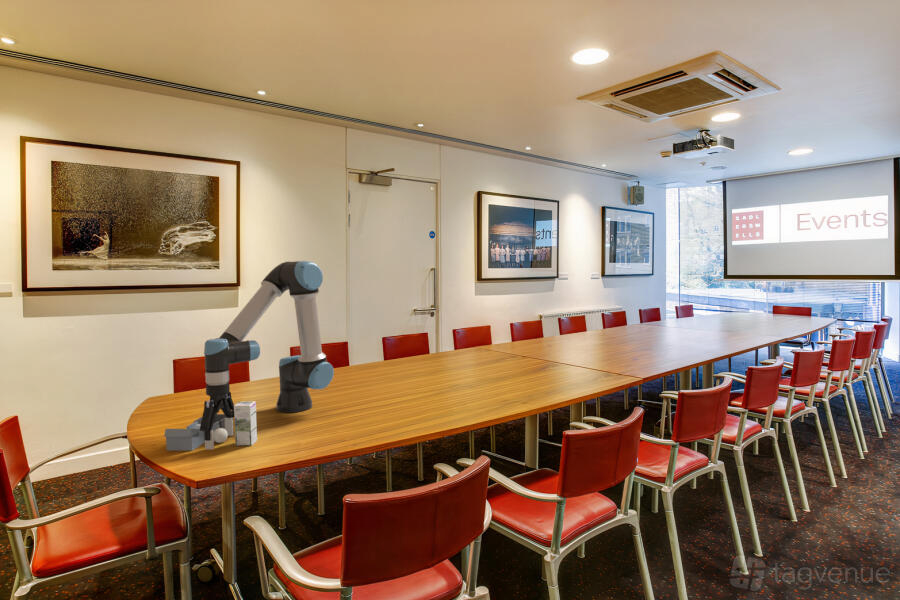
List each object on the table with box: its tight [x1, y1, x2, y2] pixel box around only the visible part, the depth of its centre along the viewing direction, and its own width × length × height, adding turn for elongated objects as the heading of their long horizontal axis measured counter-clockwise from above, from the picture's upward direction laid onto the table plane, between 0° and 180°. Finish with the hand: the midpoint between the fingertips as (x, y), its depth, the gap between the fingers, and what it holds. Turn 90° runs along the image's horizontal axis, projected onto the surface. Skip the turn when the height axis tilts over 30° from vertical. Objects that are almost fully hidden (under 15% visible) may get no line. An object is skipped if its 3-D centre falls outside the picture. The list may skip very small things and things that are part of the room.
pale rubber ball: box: [213, 428, 229, 444], centre depth 172 cm, size 5×5×5 cm
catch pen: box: [193, 413, 227, 429], centre depth 187 cm, size 9×11×4 cm
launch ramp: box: [163, 421, 220, 452], centre depth 173 cm, size 19×9×8 cm, turn 178°
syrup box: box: [233, 400, 258, 447], centre depth 170 cm, size 6×6×14 cm
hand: (219, 442), depth 172 cm, fingers open, 13 cm apart
